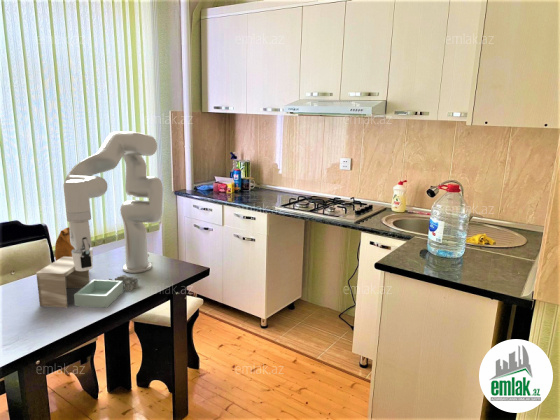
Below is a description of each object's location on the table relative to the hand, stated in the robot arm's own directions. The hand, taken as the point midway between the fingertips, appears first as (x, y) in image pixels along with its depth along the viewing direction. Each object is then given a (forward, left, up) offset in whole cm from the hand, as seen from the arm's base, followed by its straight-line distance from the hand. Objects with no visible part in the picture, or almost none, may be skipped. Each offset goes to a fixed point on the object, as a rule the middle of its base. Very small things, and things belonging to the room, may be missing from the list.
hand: (83, 263), depth 146 cm
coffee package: (-27, -20, -17) cm, 38 cm away
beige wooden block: (-7, -12, -17) cm, 22 cm away
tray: (-7, +1, -17) cm, 18 cm away
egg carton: (-19, +6, -17) cm, 26 cm away
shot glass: (0, 0, -2) cm, 2 cm away
